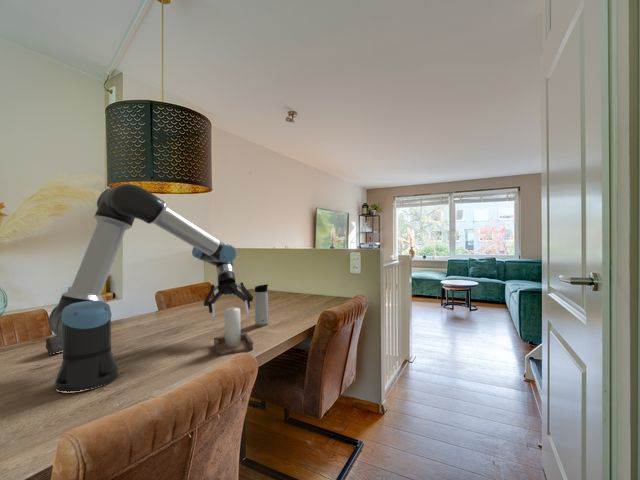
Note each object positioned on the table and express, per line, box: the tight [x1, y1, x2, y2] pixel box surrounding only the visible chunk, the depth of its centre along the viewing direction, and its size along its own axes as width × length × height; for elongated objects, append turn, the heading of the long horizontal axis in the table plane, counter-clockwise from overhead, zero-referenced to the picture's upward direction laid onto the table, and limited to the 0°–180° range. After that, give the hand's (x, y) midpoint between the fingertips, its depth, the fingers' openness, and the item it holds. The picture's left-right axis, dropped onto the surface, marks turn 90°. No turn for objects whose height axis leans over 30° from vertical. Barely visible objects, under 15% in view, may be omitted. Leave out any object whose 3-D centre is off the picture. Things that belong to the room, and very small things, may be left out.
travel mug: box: [254, 284, 269, 327], centre depth 148 cm, size 6×7×20 cm
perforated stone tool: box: [45, 335, 63, 354], centre depth 118 cm, size 15×5×7 cm, turn 173°
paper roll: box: [223, 307, 242, 348], centre depth 117 cm, size 6×6×14 cm
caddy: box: [213, 333, 254, 357], centre depth 117 cm, size 13×12×3 cm
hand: (231, 317), depth 124 cm, fingers open, 13 cm apart
